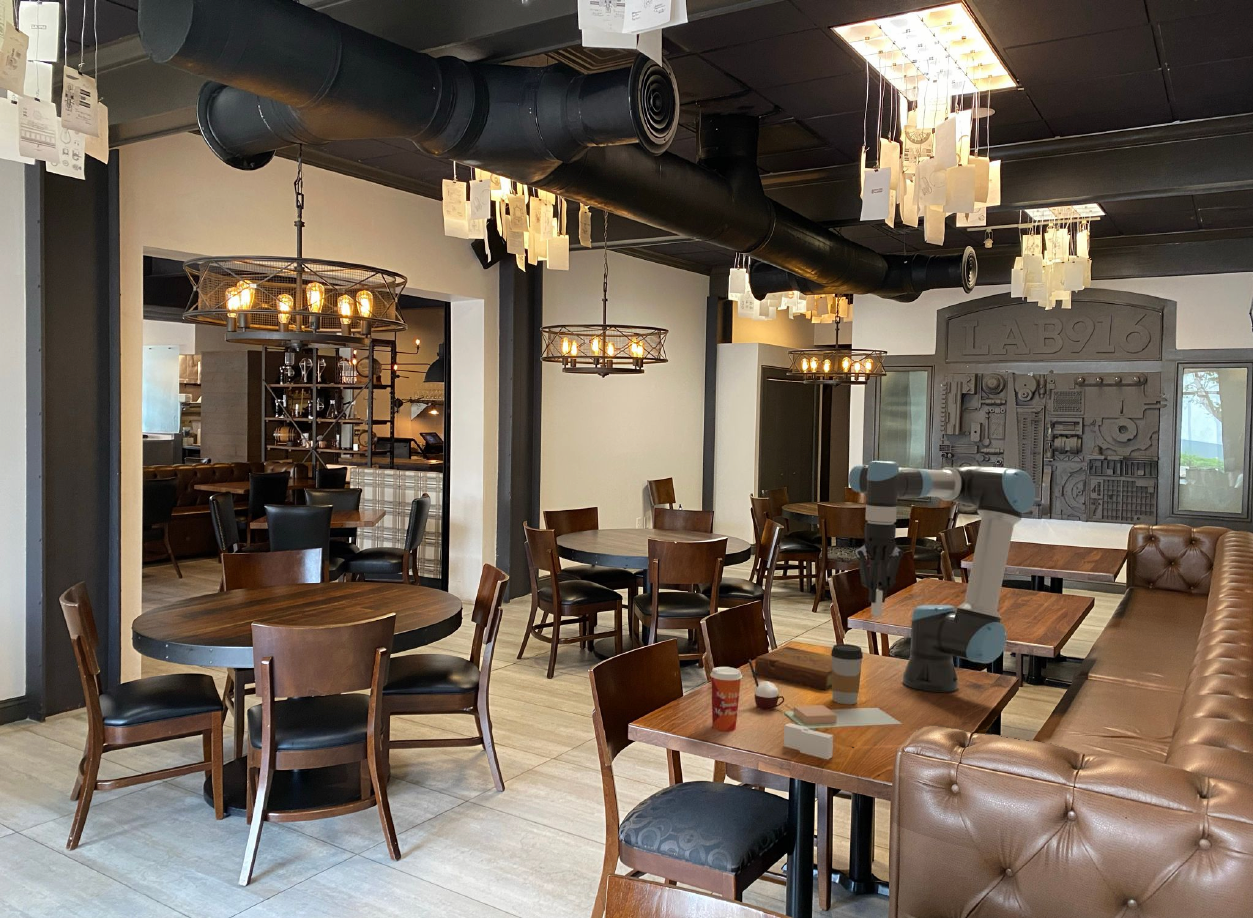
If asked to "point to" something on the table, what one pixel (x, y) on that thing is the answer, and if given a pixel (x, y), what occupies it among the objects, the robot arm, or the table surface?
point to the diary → (797, 667)
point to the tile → (815, 714)
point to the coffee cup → (846, 673)
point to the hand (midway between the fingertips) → (876, 615)
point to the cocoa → (765, 693)
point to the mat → (851, 718)
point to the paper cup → (725, 697)
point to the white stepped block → (808, 741)
